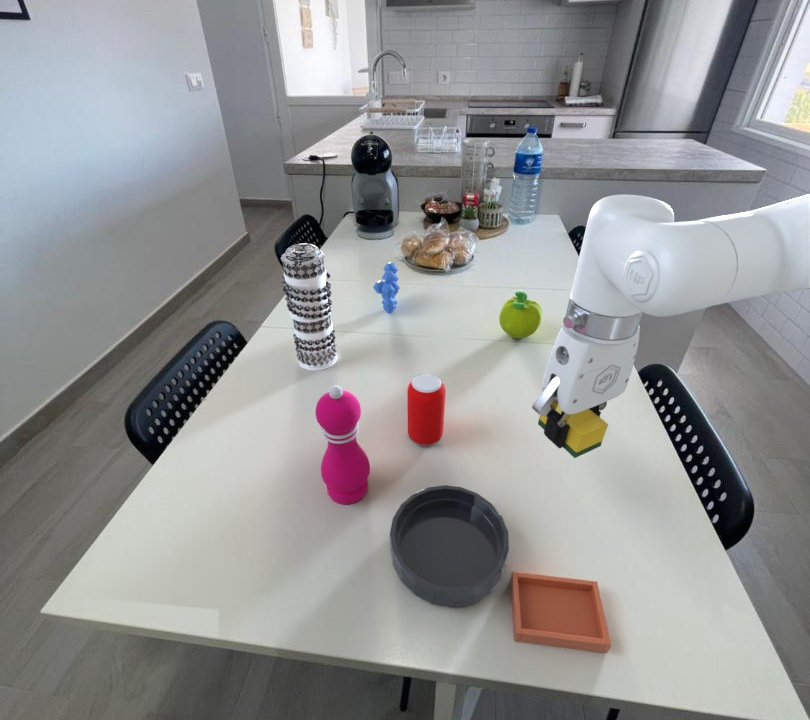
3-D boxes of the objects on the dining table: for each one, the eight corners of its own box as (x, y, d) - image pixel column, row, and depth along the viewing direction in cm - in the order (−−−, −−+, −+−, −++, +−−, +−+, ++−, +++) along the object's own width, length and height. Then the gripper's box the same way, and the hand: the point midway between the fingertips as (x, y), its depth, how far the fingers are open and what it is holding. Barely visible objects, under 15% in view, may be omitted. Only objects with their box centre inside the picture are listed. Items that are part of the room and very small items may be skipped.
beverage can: (409, 450, 75) (409, 395, 68) (406, 424, 80) (405, 371, 73) (445, 447, 75) (448, 393, 68) (440, 422, 80) (442, 369, 73)
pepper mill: (365, 464, 72) (356, 365, 61) (376, 500, 67) (369, 398, 55) (320, 475, 71) (303, 375, 59) (328, 513, 65) (310, 411, 53)
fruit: (493, 342, 101) (498, 303, 96) (501, 322, 108) (506, 284, 103) (534, 349, 99) (542, 310, 93) (540, 329, 106) (547, 291, 100)
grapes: (377, 297, 119) (375, 254, 112) (402, 298, 119) (401, 255, 112) (370, 319, 110) (368, 274, 103) (398, 320, 110) (397, 275, 103)
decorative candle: (302, 346, 101) (284, 238, 86) (343, 347, 100) (331, 239, 85) (290, 370, 93) (268, 257, 79) (334, 372, 92) (320, 258, 78)
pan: (529, 573, 57) (534, 555, 55) (427, 632, 52) (427, 616, 49) (463, 488, 68) (465, 470, 66) (372, 529, 63) (371, 512, 60)
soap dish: (593, 589, 56) (597, 581, 55) (606, 653, 50) (611, 645, 49) (510, 579, 57) (512, 571, 56) (514, 641, 51) (516, 633, 50)
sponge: (600, 446, 58) (608, 423, 56) (574, 458, 56) (581, 435, 54) (562, 413, 63) (568, 392, 61) (537, 424, 62) (542, 402, 59)
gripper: (568, 352, 43) (537, 477, 54) (684, 312, 49) (636, 431, 60) (519, 317, 49) (500, 437, 59) (629, 285, 55) (593, 399, 65)
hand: (568, 433), depth 60 cm, fingers closed on sponge, 4 cm apart
